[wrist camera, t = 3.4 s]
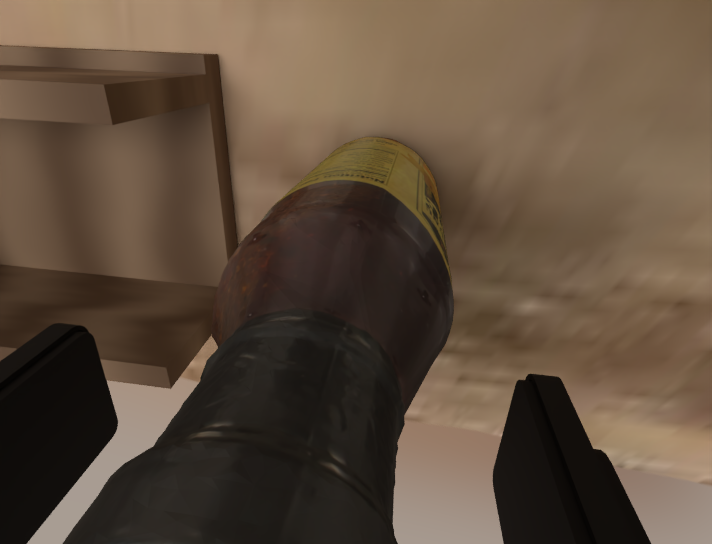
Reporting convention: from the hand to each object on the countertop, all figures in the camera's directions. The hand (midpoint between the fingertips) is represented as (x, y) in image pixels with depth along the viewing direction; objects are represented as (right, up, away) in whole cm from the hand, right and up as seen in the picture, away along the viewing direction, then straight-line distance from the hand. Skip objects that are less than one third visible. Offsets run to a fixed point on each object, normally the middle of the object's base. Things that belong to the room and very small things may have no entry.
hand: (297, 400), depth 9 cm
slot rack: (-13, +8, +15) cm, 21 cm away
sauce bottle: (+2, +7, +13) cm, 15 cm away
